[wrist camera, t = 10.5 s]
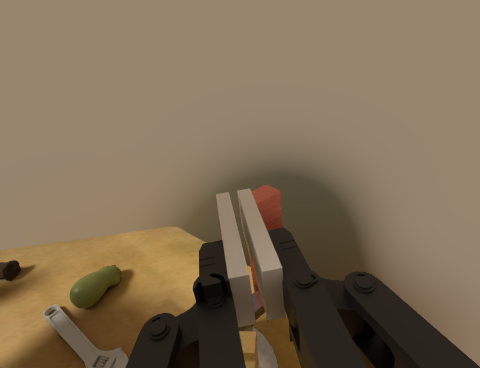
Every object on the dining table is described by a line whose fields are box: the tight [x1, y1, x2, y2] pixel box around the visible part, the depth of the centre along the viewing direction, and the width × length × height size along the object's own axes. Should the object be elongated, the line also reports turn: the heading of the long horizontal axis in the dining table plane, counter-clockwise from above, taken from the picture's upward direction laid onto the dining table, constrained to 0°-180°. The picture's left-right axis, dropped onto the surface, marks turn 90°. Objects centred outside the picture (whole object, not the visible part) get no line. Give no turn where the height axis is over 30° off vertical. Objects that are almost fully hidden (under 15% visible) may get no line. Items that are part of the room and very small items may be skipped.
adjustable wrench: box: [43, 305, 129, 368], centre depth 45 cm, size 25×6×2 cm, turn 50°
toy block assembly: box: [239, 185, 283, 368], centre depth 33 cm, size 19×12×24 cm, turn 128°
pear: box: [70, 265, 121, 308], centre depth 53 cm, size 6×5×10 cm
